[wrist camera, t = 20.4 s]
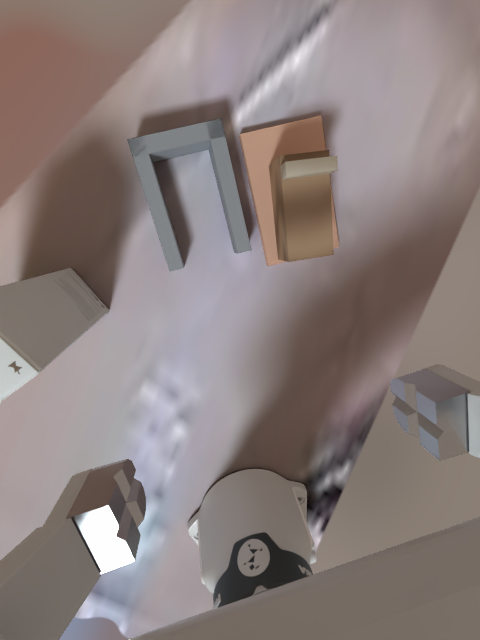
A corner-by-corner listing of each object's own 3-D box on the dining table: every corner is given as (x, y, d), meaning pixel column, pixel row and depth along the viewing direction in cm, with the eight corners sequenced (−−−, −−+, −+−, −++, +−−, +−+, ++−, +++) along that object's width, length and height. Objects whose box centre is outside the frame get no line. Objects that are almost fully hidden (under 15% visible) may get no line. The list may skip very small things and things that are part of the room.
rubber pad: (335, 246, 35) (339, 246, 34) (266, 265, 34) (268, 266, 33) (317, 118, 31) (321, 115, 30) (239, 136, 30) (240, 133, 29)
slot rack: (246, 249, 33) (251, 249, 30) (171, 268, 32) (169, 271, 30) (218, 130, 29) (221, 118, 27) (134, 149, 29) (127, 139, 26)
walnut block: (317, 253, 34) (340, 255, 29) (278, 259, 33) (293, 262, 28) (312, 161, 31) (336, 144, 26) (268, 166, 30) (284, 150, 25)
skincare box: (72, 266, 31) (-41, 287, 16) (114, 313, 33) (47, 371, 18) (11, 309, 31) (-157, 371, 16) (56, 354, 33) (-57, 445, 18)
